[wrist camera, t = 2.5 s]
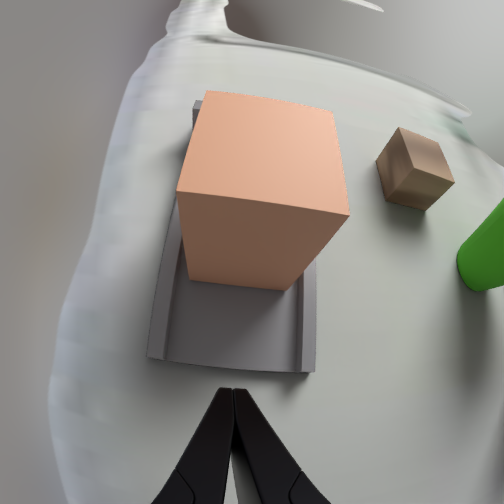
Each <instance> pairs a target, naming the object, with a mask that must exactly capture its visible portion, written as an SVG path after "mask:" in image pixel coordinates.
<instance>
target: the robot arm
mask: <svg viewBox="0 0 504 504" xmlns="http://www.w3.org/2000/svg"><path fill="white" fill-rule="evenodd" d="M230 454H231V461H232V468H233V474H234V480H235V487H236V493H237V498H238V504H331V503H330V502H329V501H328V500H327V499H326V498H325V497H324V496H323V495H322V494H321V493H320V492H319V491H318V489H317V488H316V487H315V486H314V485H313V483H312V482H311V481H310V480H309V478H308V477H307V476H306V474H305V473H304V472H303V471H301V468H300V467H299V465H298V464H297V462H296V461H295V460H294V458H293V457H292V456H291V454H290V453H289V451H288V450H287V449H286V447H285V446H284V444H283V443H282V442H281V440H280V439H279V437H278V436H277V434H276V433H275V431H274V430H273V428H272V427H271V426H270V424H269V423H268V421H267V420H266V418H265V417H264V415H263V414H262V412H261V411H260V409H259V407H258V406H257V404H256V403H255V401H254V400H253V398H252V397H251V395H250V393H249V392H248V391H247V390H246V389H240V388H235V389H233V390H232V389H231V388H222V387H221V388H219V389H218V390H217V392H216V394H215V396H214V398H213V400H212V402H211V403H210V405H209V407H208V409H207V411H206V413H205V415H204V416H203V418H202V420H201V422H200V424H199V426H198V427H197V429H196V431H195V433H194V435H193V437H192V438H191V440H190V442H189V444H188V446H187V447H186V449H185V451H184V453H183V455H182V456H181V458H180V460H179V462H178V463H177V465H176V467H175V469H174V470H173V472H172V474H171V475H170V477H169V479H168V480H167V482H166V484H165V485H164V487H163V488H162V490H161V491H160V493H159V494H158V495H157V497H156V498H155V499H154V500H153V502H152V503H151V504H224V497H225V490H226V483H227V476H228V469H229V461H230Z"/></svg>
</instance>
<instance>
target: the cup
mask: <svg viewBox="0 0 504 504" xmlns="http://www.w3.org/2000/svg"><path fill="white" fill-rule="evenodd" d="M457 264H458V269H459V272H460V275H461V277H462V279H463V281H464V282H465V284H466V285H467V286H468V287H469V288H470V289H472V290H474V291H484V290H488V289H492V288H496V287H499V286H503V285H504V198H503V199H502V201H501V202H500V203H499V204H498V206H497V207H496V208H495V209H494V210H493V211H492V213H491V214H490V215H489V216H488V217H487V218H486V219H485V221H484V222H483V223H482V224H481V225H480V226H479V227H478V228H477V229H476V231H475V232H474V233H473V234H472V235H471V236H470V237H469V238H468V239H467V240H466V241H465V242H464V243H463V244H462V246H461V247H460V250H459V251H458V254H457Z"/></svg>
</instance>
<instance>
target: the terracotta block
mask: <svg viewBox="0 0 504 504" xmlns="http://www.w3.org/2000/svg"><path fill="white" fill-rule="evenodd" d="M176 195H177V202H178V210H179V217H180V224H181V231H182V238H183V244H184V250H185V256H186V262H187V268H188V274H189V280H194V281H202V282H210V283H218V284H227V285H236V286H245V287H254V288H263V289H273V290H283V291H287V290H288V289H289V288H290V286H291V285H292V284H293V283H294V282H295V281H296V280H297V278H298V277H299V276H300V275H301V274H302V273H303V271H304V270H305V269H306V268H307V267H308V266H309V264H310V263H311V262H312V261H313V260H314V259H315V257H316V256H317V255H318V254H319V253H320V251H321V250H322V249H323V248H324V247H325V245H326V244H327V243H328V242H329V241H330V239H331V238H332V237H333V236H334V234H335V233H336V232H337V231H338V230H339V228H340V227H341V226H342V225H343V223H344V222H345V221H346V220H347V218H348V217H349V216H350V213H349V205H348V197H347V190H346V184H345V177H344V171H343V165H342V159H341V153H340V148H339V142H338V137H337V132H336V127H335V122H334V118H333V113H332V112H331V111H327V110H323V109H319V108H314V107H310V106H306V105H301V104H296V103H291V102H286V101H281V100H275V99H270V98H264V97H257V96H251V95H244V94H236V93H228V92H218V91H208V90H207V91H206V94H205V96H204V99H203V102H202V105H201V108H200V111H199V114H198V117H197V120H196V123H195V127H194V130H193V133H192V136H191V139H190V143H189V146H188V149H187V153H186V156H185V160H184V163H183V167H182V170H181V174H180V178H179V181H178V185H177V189H176Z"/></svg>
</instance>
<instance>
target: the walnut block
mask: <svg viewBox="0 0 504 504" xmlns="http://www.w3.org/2000/svg"><path fill="white" fill-rule="evenodd" d="M376 163H377V167H378V171H379V175H380V179H381V183H382V187H383V192H384V196H385V201H388V202H392V203H396V204H400V205H404V206H408V207H412V208H416V209H420V210H423V211H426V210H427V209H428V208H429V207H430V206H431V205H432V204H434V203H435V202H436V201H437V200H438V199H439V198H440V197H441V196H442V195H443V194H444V193H445V192H446V191H447V190H448V189H449V188H450V187H451V186H452V185H453V184H454V183H455V181H454V179H453V176H452V174H451V171H450V169H449V166H448V164H447V162H446V159H445V157H444V155H443V152H442V150H441V148H440V146H439V144H438V143H437V142H435V141H433V140H430V139H428V138H426V137H423V136H421V135H418V134H416V133H413V132H411V131H408V130H406V129H403V128H400V127H398V128H397V130H396V131H395V133H394V134H393V136H392V137H391V139H390V140H389V142H388V143H387V145H386V146H385V148H384V149H383V151H382V152H381V154H380V155H379V157H378V158H377V160H376Z"/></svg>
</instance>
